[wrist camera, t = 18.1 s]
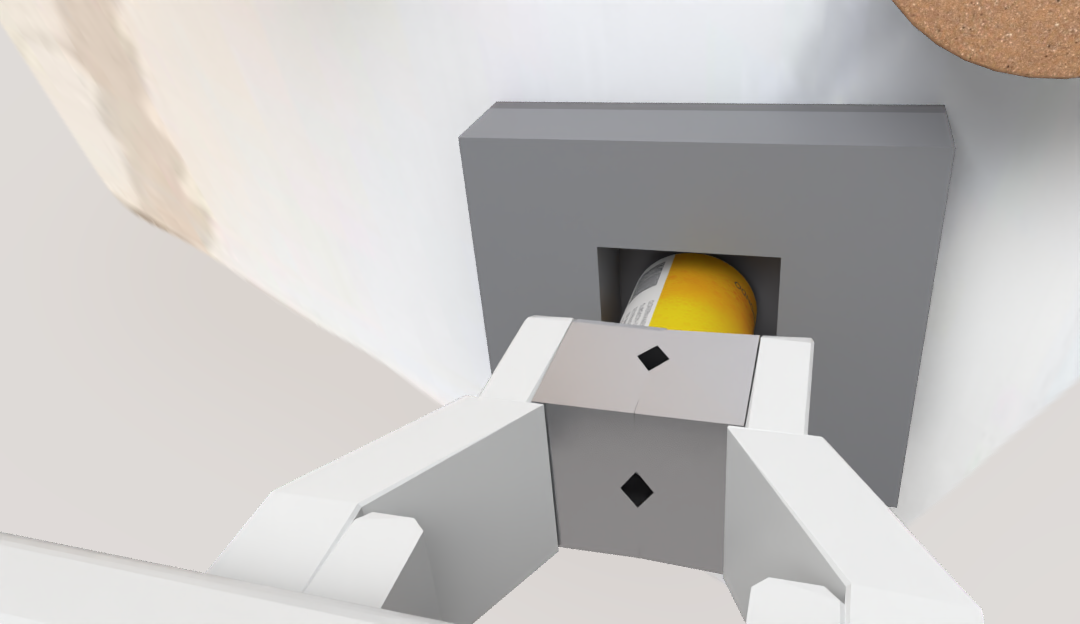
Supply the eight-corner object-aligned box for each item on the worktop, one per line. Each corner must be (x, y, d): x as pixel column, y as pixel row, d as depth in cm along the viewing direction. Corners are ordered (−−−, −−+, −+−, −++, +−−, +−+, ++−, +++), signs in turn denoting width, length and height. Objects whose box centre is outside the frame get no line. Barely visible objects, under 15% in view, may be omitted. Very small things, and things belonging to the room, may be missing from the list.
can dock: (944, 104, 36) (955, 147, 32) (893, 441, 45) (896, 507, 41) (496, 101, 42) (458, 137, 38) (530, 400, 51) (502, 454, 47)
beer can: (702, 370, 45) (645, 590, 33) (612, 299, 45) (521, 496, 33) (785, 299, 42) (755, 516, 30) (689, 221, 41) (618, 409, 29)
